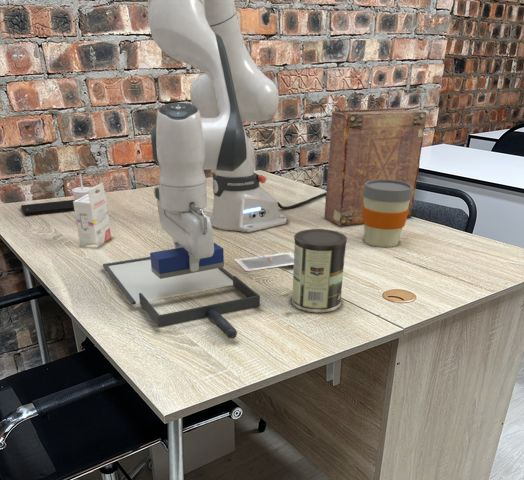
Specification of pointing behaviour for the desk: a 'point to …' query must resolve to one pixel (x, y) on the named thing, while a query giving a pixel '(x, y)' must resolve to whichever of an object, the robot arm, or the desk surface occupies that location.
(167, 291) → the whiteboard
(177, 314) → the dustpan
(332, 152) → the book
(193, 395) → the desk surface
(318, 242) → the coffee can
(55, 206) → the cell phone
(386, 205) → the reusable coffee cup
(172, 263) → the eraser
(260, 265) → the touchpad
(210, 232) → the robot arm
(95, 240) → the ink cartridge box
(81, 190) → the smoothie
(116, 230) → the desk surface
